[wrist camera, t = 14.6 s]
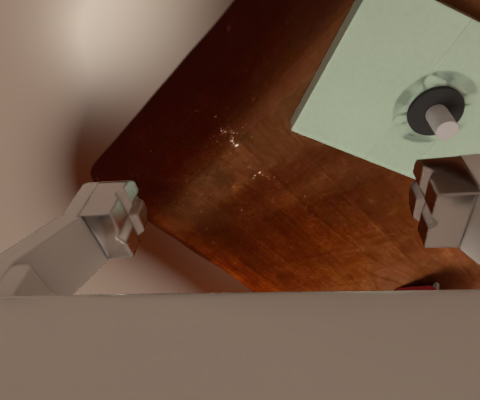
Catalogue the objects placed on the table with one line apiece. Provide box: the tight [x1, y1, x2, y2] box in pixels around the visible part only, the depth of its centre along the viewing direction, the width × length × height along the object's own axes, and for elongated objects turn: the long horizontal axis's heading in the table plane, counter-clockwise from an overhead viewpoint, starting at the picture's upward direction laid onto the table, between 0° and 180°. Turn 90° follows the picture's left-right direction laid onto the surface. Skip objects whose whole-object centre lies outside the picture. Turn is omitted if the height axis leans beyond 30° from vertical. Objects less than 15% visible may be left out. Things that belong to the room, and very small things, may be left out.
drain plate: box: [291, 0, 480, 179], centre depth 37 cm, size 24×16×2 cm, turn 69°
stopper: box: [407, 86, 465, 140], centre depth 36 cm, size 5×5×6 cm
